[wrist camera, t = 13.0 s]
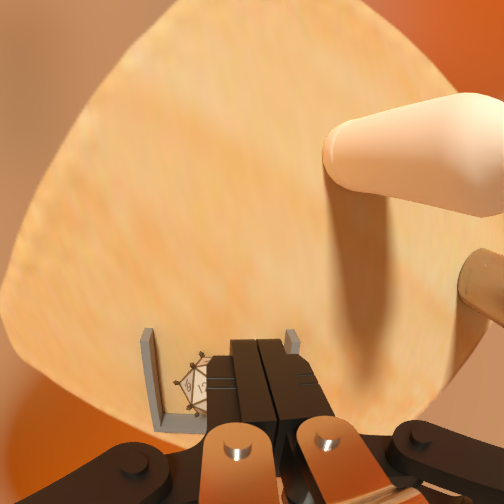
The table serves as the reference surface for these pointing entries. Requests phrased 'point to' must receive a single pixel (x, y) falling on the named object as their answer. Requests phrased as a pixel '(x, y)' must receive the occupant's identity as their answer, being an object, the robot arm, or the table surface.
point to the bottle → (426, 154)
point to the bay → (159, 419)
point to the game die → (196, 386)
